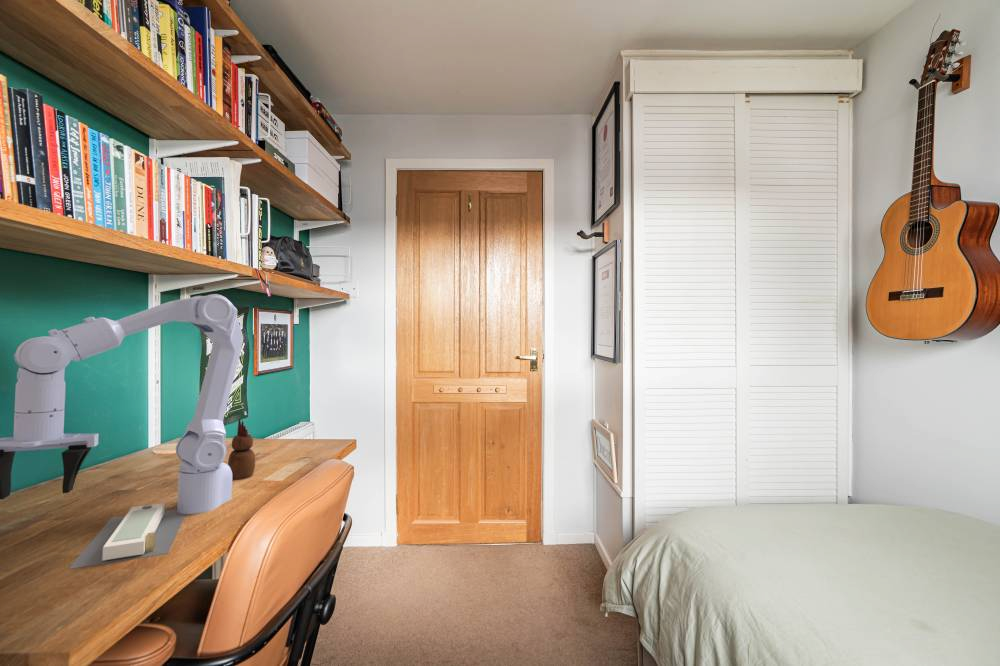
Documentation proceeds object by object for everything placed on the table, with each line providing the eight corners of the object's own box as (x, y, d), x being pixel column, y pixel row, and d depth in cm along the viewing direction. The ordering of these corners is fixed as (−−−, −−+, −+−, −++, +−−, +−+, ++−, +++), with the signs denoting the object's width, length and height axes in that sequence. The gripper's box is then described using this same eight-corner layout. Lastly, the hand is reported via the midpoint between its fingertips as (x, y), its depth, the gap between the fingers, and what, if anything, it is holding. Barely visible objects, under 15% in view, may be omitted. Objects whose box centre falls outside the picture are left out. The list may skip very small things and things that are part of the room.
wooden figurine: (226, 478, 113) (228, 418, 113) (252, 474, 116) (254, 416, 116) (229, 485, 107) (231, 422, 108) (256, 481, 111) (258, 420, 111)
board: (111, 522, 85) (112, 504, 85) (188, 513, 90) (188, 495, 91) (67, 575, 66) (68, 552, 66) (167, 559, 72) (168, 537, 72)
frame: (131, 517, 84) (132, 506, 84) (164, 513, 87) (164, 502, 87) (102, 560, 68) (102, 546, 68) (143, 553, 71) (144, 539, 71)
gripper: (-39, 416, 66) (-43, 509, 66) (89, 412, 73) (86, 496, 73) (-13, 409, 73) (-17, 494, 72) (103, 406, 79) (100, 483, 79)
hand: (36, 494), depth 73 cm, fingers open, 7 cm apart
